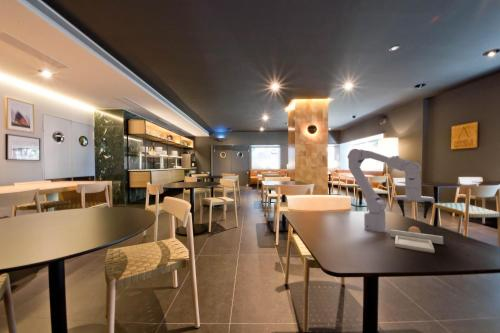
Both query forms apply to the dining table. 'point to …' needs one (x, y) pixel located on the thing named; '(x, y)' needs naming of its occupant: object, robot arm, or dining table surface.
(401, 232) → the low wall
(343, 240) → the dining table surface
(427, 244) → the tray
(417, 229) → the ball
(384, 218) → the robot arm
